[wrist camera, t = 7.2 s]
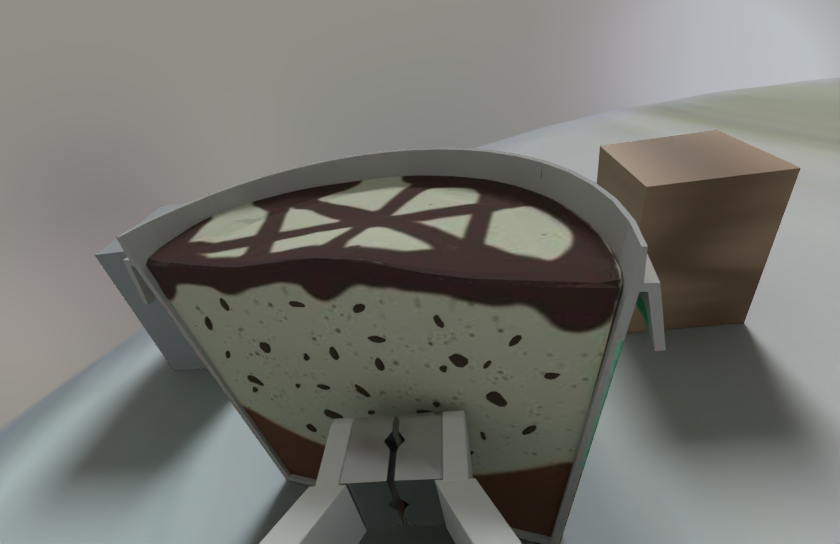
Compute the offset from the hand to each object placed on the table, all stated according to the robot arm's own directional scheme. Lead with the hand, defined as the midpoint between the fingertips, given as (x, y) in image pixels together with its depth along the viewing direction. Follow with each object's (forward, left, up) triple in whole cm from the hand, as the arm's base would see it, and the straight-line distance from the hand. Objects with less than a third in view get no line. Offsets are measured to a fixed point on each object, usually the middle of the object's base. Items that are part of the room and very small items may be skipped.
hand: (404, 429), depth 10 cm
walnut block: (-11, -10, -5) cm, 16 cm away
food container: (0, -4, -5) cm, 6 cm away
